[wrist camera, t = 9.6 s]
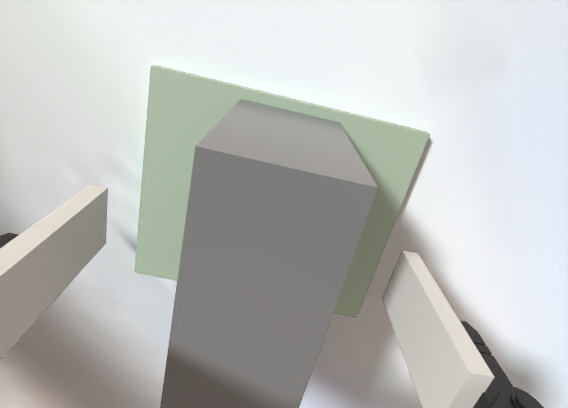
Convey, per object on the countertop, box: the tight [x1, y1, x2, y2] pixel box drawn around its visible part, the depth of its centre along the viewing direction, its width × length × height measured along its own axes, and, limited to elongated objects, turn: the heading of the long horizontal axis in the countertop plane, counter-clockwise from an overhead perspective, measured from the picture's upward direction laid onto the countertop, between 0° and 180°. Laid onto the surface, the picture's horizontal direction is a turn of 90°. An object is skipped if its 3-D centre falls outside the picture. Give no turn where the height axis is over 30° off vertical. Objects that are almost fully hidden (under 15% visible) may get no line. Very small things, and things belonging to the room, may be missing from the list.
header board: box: [135, 65, 430, 317], centre depth 18 cm, size 14×12×6 cm
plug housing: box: [160, 99, 378, 408], centre depth 16 cm, size 5×11×9 cm, turn 167°
